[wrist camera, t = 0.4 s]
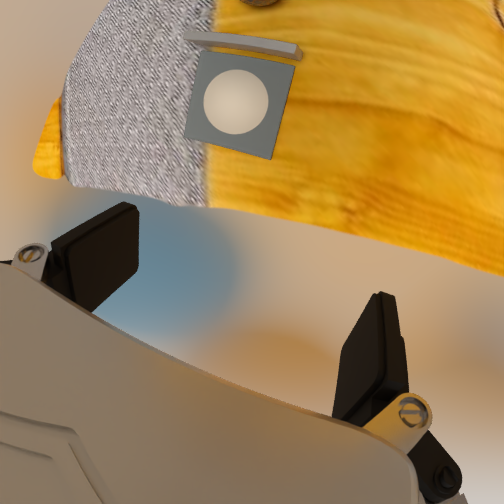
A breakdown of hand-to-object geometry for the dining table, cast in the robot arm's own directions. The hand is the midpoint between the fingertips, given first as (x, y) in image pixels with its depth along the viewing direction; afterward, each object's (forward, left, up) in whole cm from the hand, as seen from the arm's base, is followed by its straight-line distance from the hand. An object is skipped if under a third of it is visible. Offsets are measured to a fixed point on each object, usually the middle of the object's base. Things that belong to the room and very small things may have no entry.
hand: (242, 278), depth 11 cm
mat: (-4, -12, -30) cm, 32 cm away
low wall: (-12, -12, -30) cm, 34 cm away
